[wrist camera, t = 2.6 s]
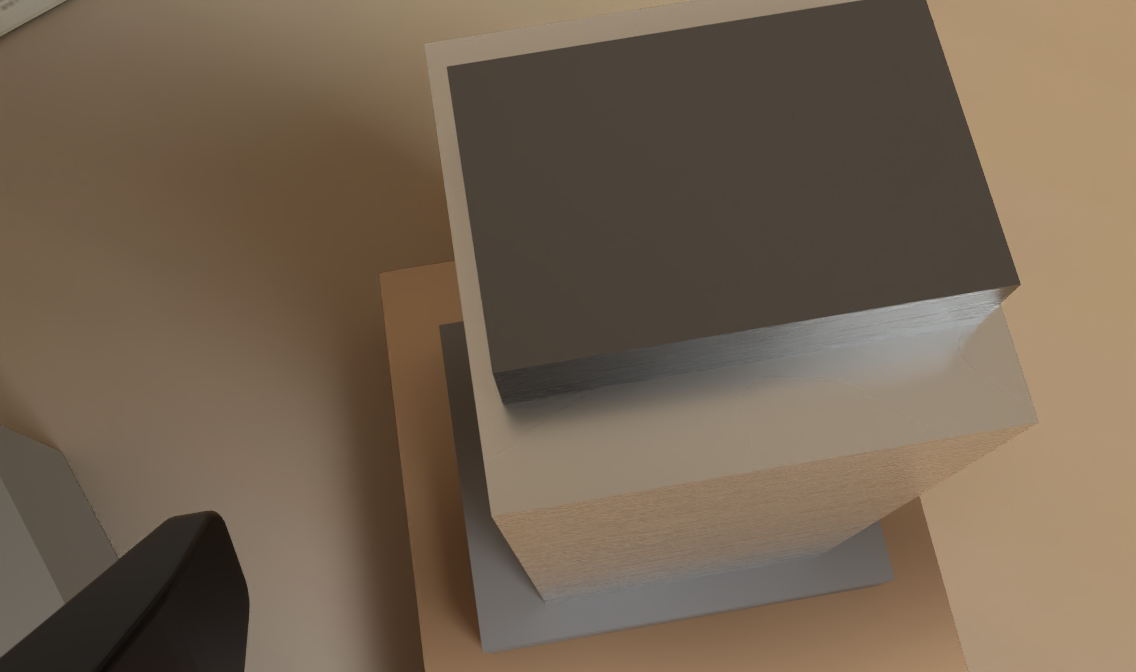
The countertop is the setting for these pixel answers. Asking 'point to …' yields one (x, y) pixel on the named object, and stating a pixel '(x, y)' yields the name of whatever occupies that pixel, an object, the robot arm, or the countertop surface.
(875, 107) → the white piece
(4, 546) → the block
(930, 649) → the tan wooden board
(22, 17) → the supplement box
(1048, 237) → the countertop surface
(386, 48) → the countertop surface
